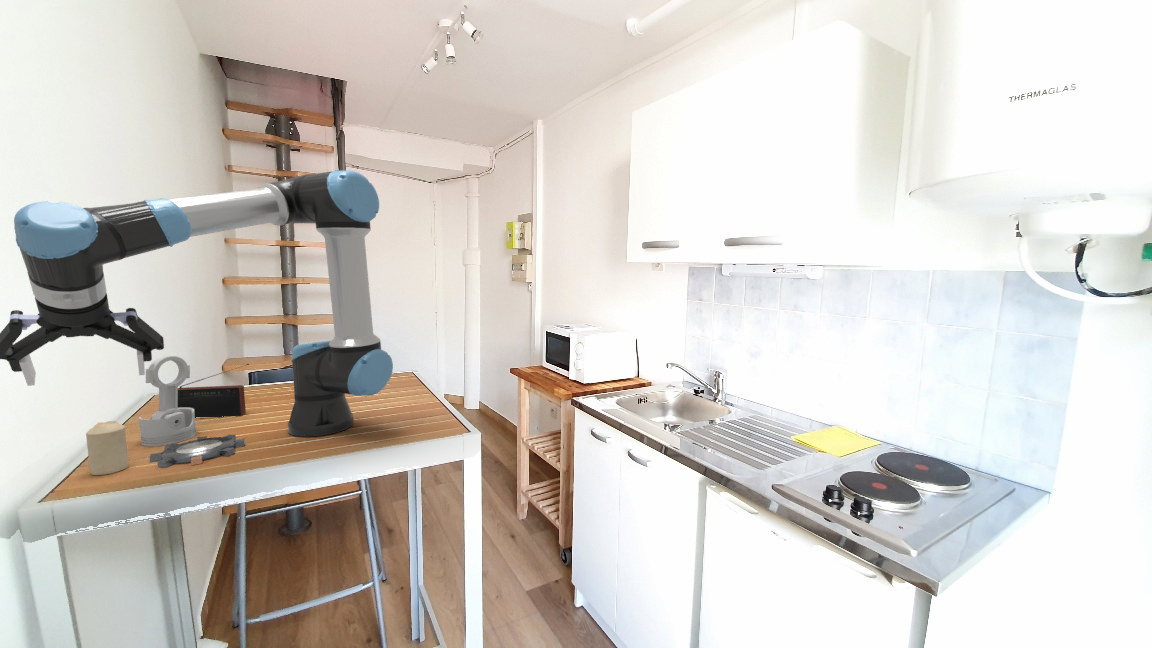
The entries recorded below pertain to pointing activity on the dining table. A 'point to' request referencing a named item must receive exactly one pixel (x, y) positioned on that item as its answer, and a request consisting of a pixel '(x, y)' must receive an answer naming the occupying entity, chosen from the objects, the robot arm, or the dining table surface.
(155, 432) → the engine component
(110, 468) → the candle
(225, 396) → the radio
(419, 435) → the dining table surface
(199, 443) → the sprocket
